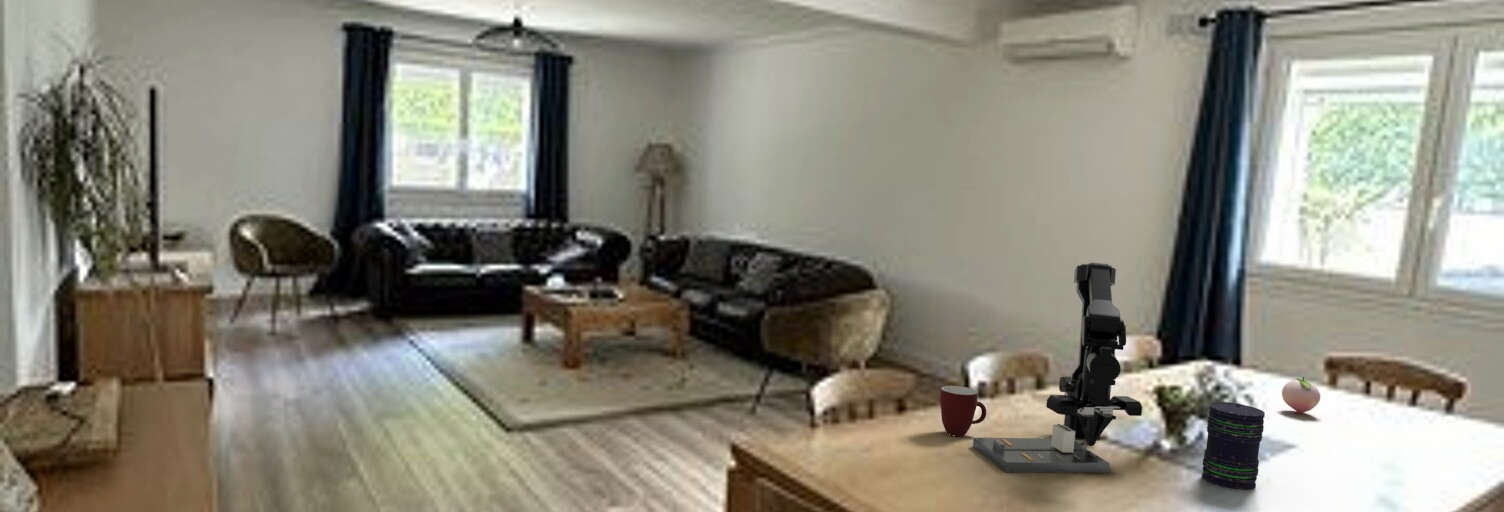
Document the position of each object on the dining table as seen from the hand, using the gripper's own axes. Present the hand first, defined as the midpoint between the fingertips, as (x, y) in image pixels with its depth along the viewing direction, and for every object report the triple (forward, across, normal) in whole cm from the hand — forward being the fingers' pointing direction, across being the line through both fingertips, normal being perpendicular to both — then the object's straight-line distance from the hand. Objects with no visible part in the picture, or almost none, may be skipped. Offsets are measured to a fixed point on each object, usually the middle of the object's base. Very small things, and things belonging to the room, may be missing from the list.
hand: (1090, 445), depth 190 cm
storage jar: (+3, -23, +13) cm, 26 cm away
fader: (+1, +6, 0) cm, 6 cm away
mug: (+3, +21, -17) cm, 27 cm away
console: (+3, +11, 0) cm, 12 cm away
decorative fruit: (+3, -83, -39) cm, 92 cm away
